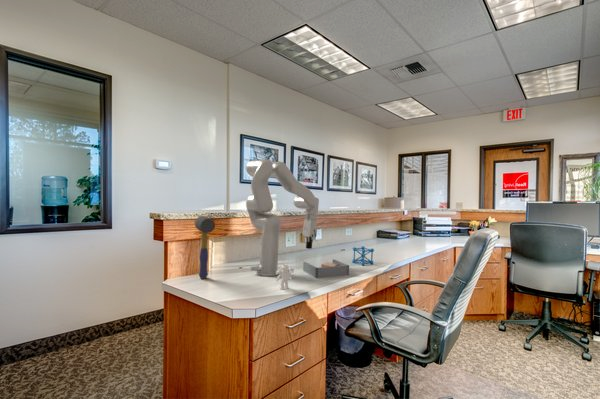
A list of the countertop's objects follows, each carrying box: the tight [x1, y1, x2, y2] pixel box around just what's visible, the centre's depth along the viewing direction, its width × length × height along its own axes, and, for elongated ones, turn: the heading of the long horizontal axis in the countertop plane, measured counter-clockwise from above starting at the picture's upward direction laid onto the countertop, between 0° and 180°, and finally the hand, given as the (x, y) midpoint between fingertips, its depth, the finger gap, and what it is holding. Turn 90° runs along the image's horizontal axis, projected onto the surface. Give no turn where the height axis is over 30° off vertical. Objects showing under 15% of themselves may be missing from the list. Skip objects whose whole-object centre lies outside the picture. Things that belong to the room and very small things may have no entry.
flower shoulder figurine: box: [275, 262, 295, 291], centre depth 138 cm, size 9×4×12 cm, turn 128°
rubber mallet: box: [194, 216, 216, 279], centre depth 149 cm, size 12×8×30 cm, turn 33°
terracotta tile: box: [320, 261, 338, 267], centre depth 172 cm, size 7×7×4 cm
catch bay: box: [302, 258, 350, 279], centre depth 167 cm, size 20×15×5 cm
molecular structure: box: [351, 246, 375, 267], centre depth 193 cm, size 10×10×10 cm
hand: (308, 248), depth 183 cm, fingers closed
